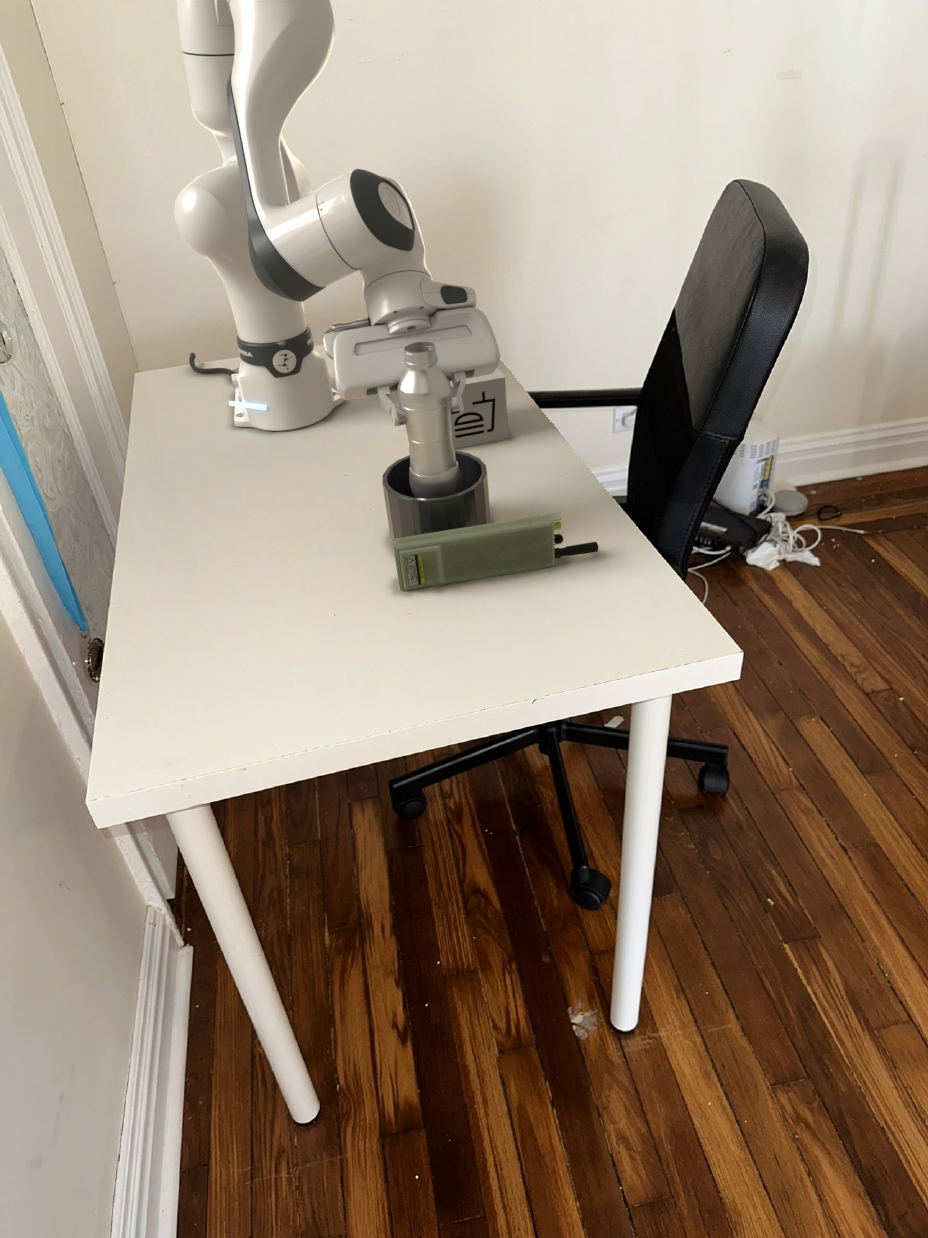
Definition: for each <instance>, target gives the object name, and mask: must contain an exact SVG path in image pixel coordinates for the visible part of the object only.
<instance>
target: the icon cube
mask: <svg viewBox="0 0 928 1238" xmlns="http://www.w3.org/2000/svg"><path fill="white" fill-rule="evenodd" d="M450 384H451V387H452V397H456V394H457V391H458V388H456V389H454V388H453V384H452V381H451V382H450ZM461 398H462V402H463V406H464V412H463V414H458V415H452V416H451V424H452V429H451V430H452V440H453V445H454V450H456V449H462V448H467V447H472V446H478V445H483V444H489V443H495V442H499V441H505V440H509V425H508V424H509V423H508V408H507V407H508V406H507V405H508V404H507V388H506V376H505V375H504V374H503V372H502V371H501V370H500V368H499V367H498V366H497V368H496V369H495V371H494V373H492V374H490V375H484V376H479V377H473V378H467V379H466V384H465V387H464V390H463V394H462V397H461Z"/></svg>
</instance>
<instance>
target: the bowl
mask: <svg viewBox="0 0 928 1238" xmlns="http://www.w3.org/2000/svg"><path fill="white" fill-rule="evenodd" d="M454 450H455V455H456V460H457V462H458V465H459V468H460V472H461V476H462V485H461V491H460V492H459V493H458V494H454V495H450V496H446V497H440V498H430V499H426V498H416V497H415V496H414V495H413V493H412V490H411V487H410V483H409V472H410V454H408V455H407V456H404V457H402V458H399V459H397V460H396V461H395V462H393V463H392V464H390V465H389V466H388V467H387V468H386V470H385V471H384V472H383V474H382V482H381V483H382V490H383V497H384V503H385V511H386V516H387V522H388V523H387V524H388V529H389V536H390V540H391V544H392V545H393V541H392V539H396V538H402V537H408V536H414V535H421V534H427V533H433V532H439V531H446V530H452V529H458V528H464V527H471V526H477V525H483V524H490V523H492V522H491V521H492V520H491V509H490V494H489V479H488V470H487V469H488V468H487V464H486V463H484V461H483V460H482V459H481V458H480V457H478V456H476V455H474V454H472V453H469V452H465V451H462V450H456V449H454Z"/></svg>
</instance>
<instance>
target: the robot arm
mask: <svg viewBox="0 0 928 1238" xmlns="http://www.w3.org/2000/svg"><path fill="white" fill-rule="evenodd" d="M175 2H176V3H175V4H176V16H177V17H176V18H177V28H178V36H179V44H180V48H181V55H182V61H183V66H184V73H185V77H186V78H185V79H186V84H187V89H188V95H189V101H190V106H191V111H192V114H193V116H194V118H195V120H196V121H197V122H198V123H199V124H200V125H201V126H202V127H203V128H205V129H206V130H209V131H210V132H211V134H212V135H213V137H214V139H215V140H216V143H217V145H218V147H219V150H220V153H221V156H222V163H223V164H222V166H218V167H217V168H214V169H212V170H211V169H210V170H208V171H206V172H204V173H201V174H199V175H198V176H197V177H196V178H194V179H193V180H192V181H191V182H189V183H188V184H187V185H186V186H185V187H184V188H183V189H182V190H181V191H180V192H179V193H178V195H177V196H176V198H175V201H174V207H173V211H174V212H173V214H174V221H175V225H176V227H177V231H178V232H179V234H180V236H181V237H182V239H183V240H184V242H185V243H186V244H187V245H188V247H189V248H190V249H192V250H193V251H194V252H196V253H197V254H199V255H201V256H203V257H204V258H206V259H207V260H208V261H209V262H210V263H211V265H212V266H213V267H214V269H215V270H216V272H217V274H218V276H219V277H220V279H221V281H222V283H223V285H224V287H225V290H226V293H227V296H228V300H229V303H230V307H231V311H232V314H233V315H232V316H233V318H234V322H235V327H236V332H237V335H236V346H237V347H236V348H237V351H238V354H239V357H240V364H239V367H237V368H233V369H230V368H226V367H209V368H203V367H202V368H201V367H197V365H196V363H195V359H196V353H195V352H191V353H190V354H189V359H188V361H189V366H190V368H191V370H192V371H194V372H195V373H197V374H202V375H203V374H207V375H209V374H226V375H229V376H230V378H231V383H232V386H233V388H234V389H235V391H234V392H235V393H234V401H233V400H229V401H228V405H229V406H230V407H234V408H233V409H234V410H233V422H234V426H235V427H238V428H239V427H240V428H254V429H258V430H263V431H271V432H272V431H273V432H277V431H278V432H279V431H291V430H295V429H301V428H305V427H309V426H310V425H313V424H315V423H318V422H320V421H321V420H323V419H324V418H326V417H327V416H329V415H330V413H331V412H332V411H333V410H334V409H335V408H336V407H338V406H340V405H342V404H343V403H344V402H345V401H350V400H355V399H362V398H363V399H364V398H367V397H368V398H369V397H372V396H377V400H378V403H379V405H381V407H382V408H383V409H384V410H385V411H386V412H387V413H388V414H390V415H391V420H392V424H393V427H398V426H399V427H400V426H404V425H405V424H406V417H405V415H404V413H403V411H402V409H401V407H400V406H396V404H395V403H394V402H393V401H392V400H391V393H395V392H396V393H397V388H398V384H399V382H400V380H401V378H402V376H403V374H404V372H405V371H406V369H407V366H406V365H405V363H404V359H405V355H404V347H405V346H406V345H408V344H411V343H414V342H421V341H426V342H432V343H434V344H435V346H436V354H437V356H438V362H437V363H436V366H437V367H438V368H439V369H440V370H441V371H442V372H443V373H444V374H445V376H446V377H447V378H448V380H449V382H451V381H452V384H453V388H454V389H456V388H458V391H457V394H456V397H452V407H451V416H452V415H458V414H463V412H464V406H463V402H462V398H461V397H462V394H463V390H464V387H465V384H466V379H467V378H473V377H479V376H484V375H490V374H492V373H494V371H495V369H496V368H497V367H498V366H499V364H500V359H501V353H500V348H499V345H498V341H497V338H496V336H495V333H494V331H493V328H492V326H491V323H490V321H489V318H488V316H487V315H486V314H485V313H484V312H483V311H482V310H481V309H480V308H478V307H477V294H476V291H475V289H474V288H473V287H471V286H466V285H460V284H459V285H457V284H450V283H446V282H440V281H435V280H434V279H433V276H432V273H431V272H430V270H429V269H428V267H427V264H426V247H425V243H424V242H425V241H424V238H423V234H422V232H421V228H420V224H419V222H418V218H417V216H416V213H415V211H414V208H413V206H412V203H411V201H410V200H409V197H408V194H407V193H406V191H405V189H404V187H403V186H402V185H401V184H400V183H399V182H398V181H397V180H395V179H393V178H390V177H388V176H381V175H379V174H376V173H374V172H372V171H369V170H366V169H362V168H354V170H351V171H348V172H346V173H343V174H342V175H339V176H338V177H336V178H334V179H331V180H330V181H328V182H326V183H324V184H323V185H320V187H318V188H317V189H315V190H314V191H313V186H312V181H311V177H310V175H309V173H308V171H307V169H306V167H305V166H304V164H303V163H302V162H301V161H300V160H299V158H298V157H296V156H295V155H294V154H293V153H292V152H291V151H290V148H289V147H288V145H287V143H286V141H285V139H284V136H283V134H282V133H283V129H284V127H285V125H286V122H287V120H288V118H289V117H290V115H291V113H292V111H293V110H294V108H295V107H296V105H297V103H298V102H299V101H300V99H301V98H302V97H303V96H304V94H305V93H306V92H307V91H308V90H309V88H310V87H311V86H312V85H313V84H314V82H316V80H317V79H318V77H319V76H320V75H321V74H322V72H323V70H324V69H325V66H327V63H328V61H329V59H330V56H331V53H332V51H333V47H334V42H335V36H336V27H335V24H336V23H335V18H334V11H333V8H332V4H331V0H175ZM356 272H358V273H359V274H360V276H361V279H362V297H363V302H364V306H365V310H366V314H367V315H366V316H367V317H365V318H359V319H355V320H351V321H348V322H347V321H346V322H336V323H333V324H332V327H329V328H328V329H327V330H326V331H325V332H324V335H323V338H322V342H323V347H324V350H325V353H326V355H327V356H328V357H329V358H330V359H331V360H333V372H334V382H335V387H336V390H335V388H333V387H332V384H331V378H330V374H329V369H328V365H327V361H326V358H325V357H324V356H322V355H321V353H318V352H317V351H316V350H315V349H314V348H315V344H314V343H315V342H314V336H313V332H312V330H311V326H310V324H309V323H308V322H307V317H306V312H305V311H306V310H305V305H304V302H305V301H307V300H309V299H310V298H312V297H313V296H314V295H317V294H319V292H321V291H323V290H324V289H326V288H327V286H329V285H331V284H334V283H336V282H337V281H339V280H341V279H342V280H343V279H344V278H345V277H348V276H350V275H352V274H353V273H356ZM405 426H406V425H405Z"/></svg>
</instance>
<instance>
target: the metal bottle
mask: <svg viewBox="0 0 928 1238" xmlns="http://www.w3.org/2000/svg"><path fill="white" fill-rule="evenodd" d="M404 355H405V359H404V363H405V365H406V366H407V369H406V371H405V372H404V374H403V376H402V378H401V380H400V382H399V384H398V388H397V391H396V396H397V401H398V403H399V407H401V409H402V411H403V413H404V415H405V417H406V424H405V429H406V434H407V439H408V447H409V448H408V449H409V455H410V472H409V483H410V487H411V490H412V493H413V495H414V496H415V497H416V498H426V499H430V498H440V497H446V496H450V495H454V494H458V493H459V492H460V491H461V485H462V476H461V472H460V468H459V465H458V462H457V460H456V455H455V450H456V449H454V445H453V440H452V430H451V429H452V424H451V407H452V387H451V384H450V382H449V380H448V378H447V377H446V376H445V374H444V373H443V372H442V371H441V370H440V369H439V368H438V367H437V366H436V363H437V362H438V356H437V354H436V346H435V344H434V343H432V342H426V341H421V342H414V343H411V344H408V345H406V346H405V347H404Z"/></svg>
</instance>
